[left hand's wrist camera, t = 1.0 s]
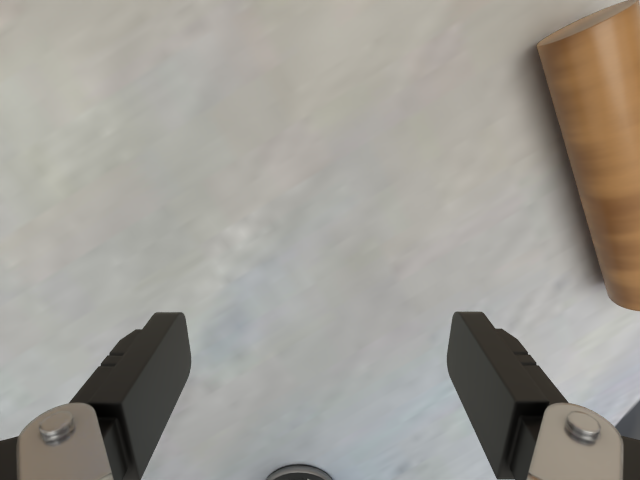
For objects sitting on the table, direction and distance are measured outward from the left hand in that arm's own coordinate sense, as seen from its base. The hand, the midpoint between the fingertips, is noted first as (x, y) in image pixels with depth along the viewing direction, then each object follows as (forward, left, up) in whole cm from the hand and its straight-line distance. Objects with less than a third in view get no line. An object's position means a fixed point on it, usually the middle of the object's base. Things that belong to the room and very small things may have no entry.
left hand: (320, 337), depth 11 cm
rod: (-5, -24, -24) cm, 34 cm away
